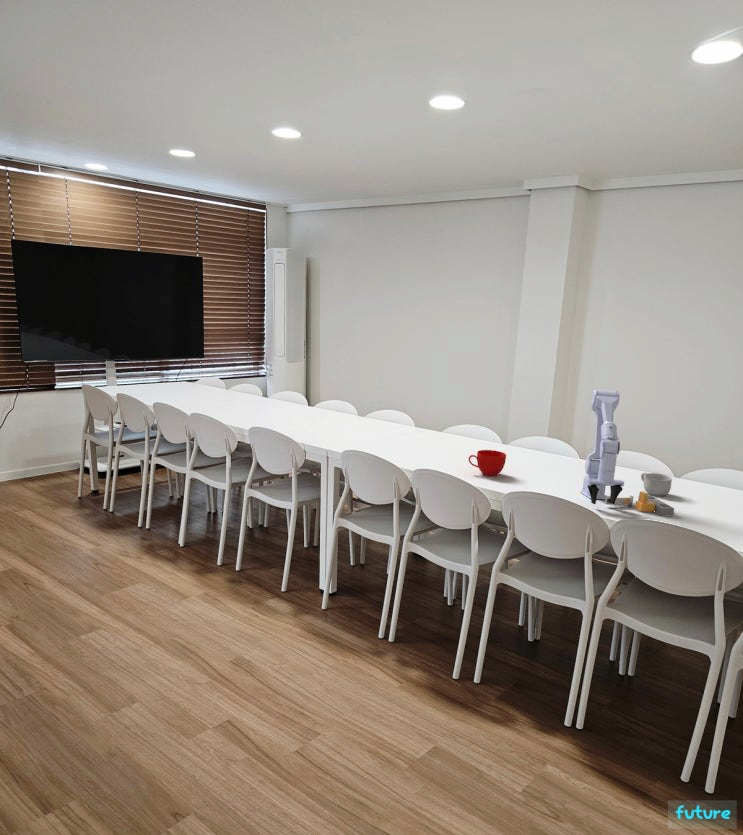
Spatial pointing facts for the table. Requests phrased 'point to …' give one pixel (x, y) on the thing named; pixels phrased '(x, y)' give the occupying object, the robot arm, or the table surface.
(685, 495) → the table surface
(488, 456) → the ceramic cup
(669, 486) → the teacup
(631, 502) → the clip
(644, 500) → the plug
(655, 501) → the power strip
